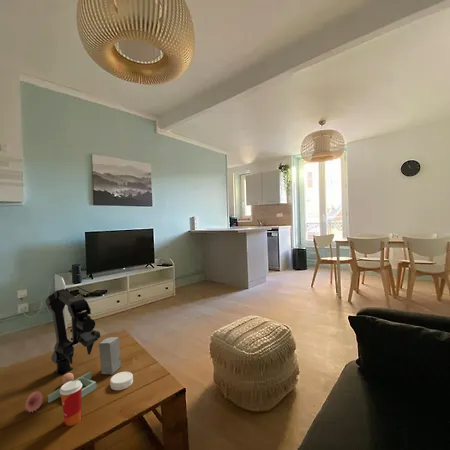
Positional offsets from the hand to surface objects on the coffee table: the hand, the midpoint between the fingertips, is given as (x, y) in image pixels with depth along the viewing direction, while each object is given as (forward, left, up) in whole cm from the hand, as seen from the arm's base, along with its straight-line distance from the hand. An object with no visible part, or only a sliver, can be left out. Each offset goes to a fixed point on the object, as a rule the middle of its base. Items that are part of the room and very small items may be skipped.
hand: (80, 358), depth 130 cm
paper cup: (+20, -17, -12) cm, 29 cm away
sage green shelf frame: (+4, -5, -12) cm, 14 cm away
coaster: (+18, +8, -13) cm, 23 cm away
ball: (-6, -3, -12) cm, 14 cm away
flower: (-2, -20, -12) cm, 23 cm away
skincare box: (+3, +14, -12) cm, 19 cm away
